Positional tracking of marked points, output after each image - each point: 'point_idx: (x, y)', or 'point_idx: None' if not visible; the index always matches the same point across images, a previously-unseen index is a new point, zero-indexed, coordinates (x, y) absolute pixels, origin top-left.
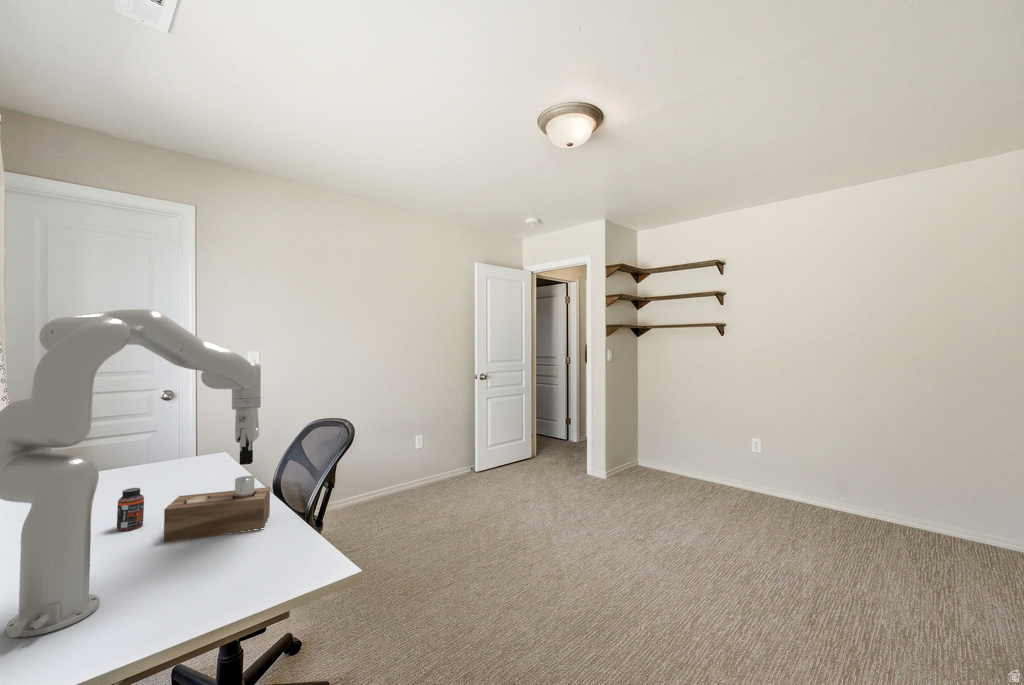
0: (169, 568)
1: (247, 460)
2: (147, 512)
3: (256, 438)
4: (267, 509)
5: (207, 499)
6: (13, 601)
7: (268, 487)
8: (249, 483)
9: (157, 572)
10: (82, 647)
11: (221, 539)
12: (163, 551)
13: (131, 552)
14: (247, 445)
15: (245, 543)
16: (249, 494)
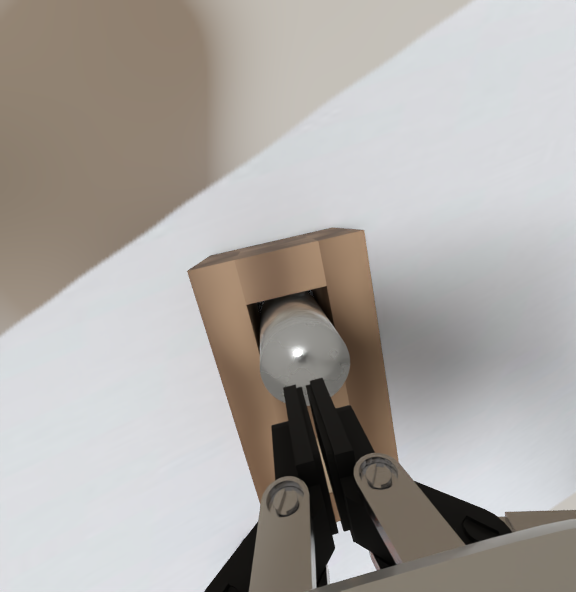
0: (515, 344)
1: (353, 411)
2: (155, 577)
3: (422, 579)
4: (257, 247)
5: (316, 439)
6: (553, 502)
7: (194, 275)
8: (330, 324)
9: (526, 357)
10: None
11: (381, 313)
12: (421, 404)
13: (408, 461)
14: (505, 528)
15: (424, 238)
16: (318, 307)
